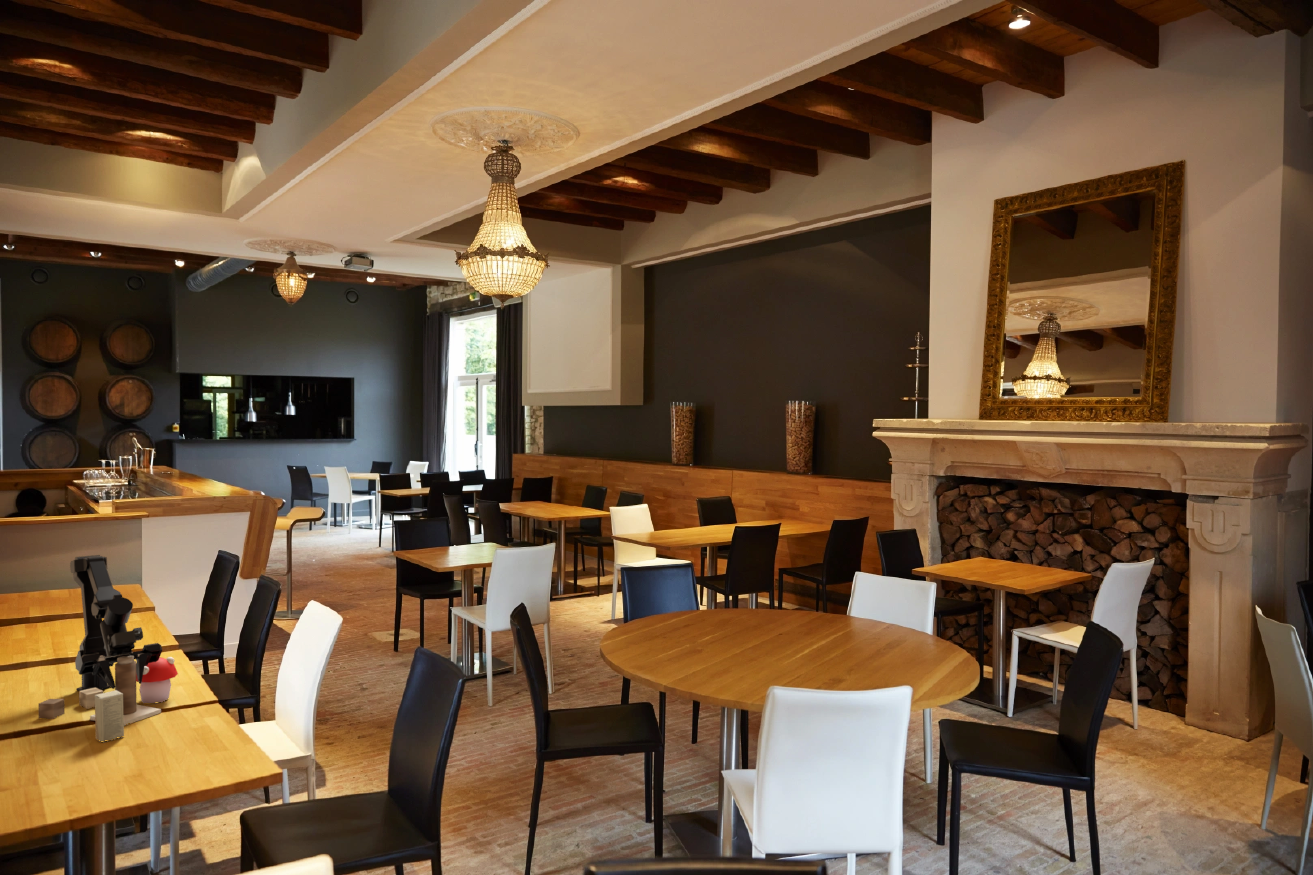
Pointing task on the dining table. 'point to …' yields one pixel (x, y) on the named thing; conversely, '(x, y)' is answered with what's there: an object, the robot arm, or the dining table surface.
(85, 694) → the oak block
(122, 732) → the box
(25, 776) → the dining table surface
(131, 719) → the plate
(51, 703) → the walnut block
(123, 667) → the pepper mill
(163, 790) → the dining table surface
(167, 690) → the mushroom
